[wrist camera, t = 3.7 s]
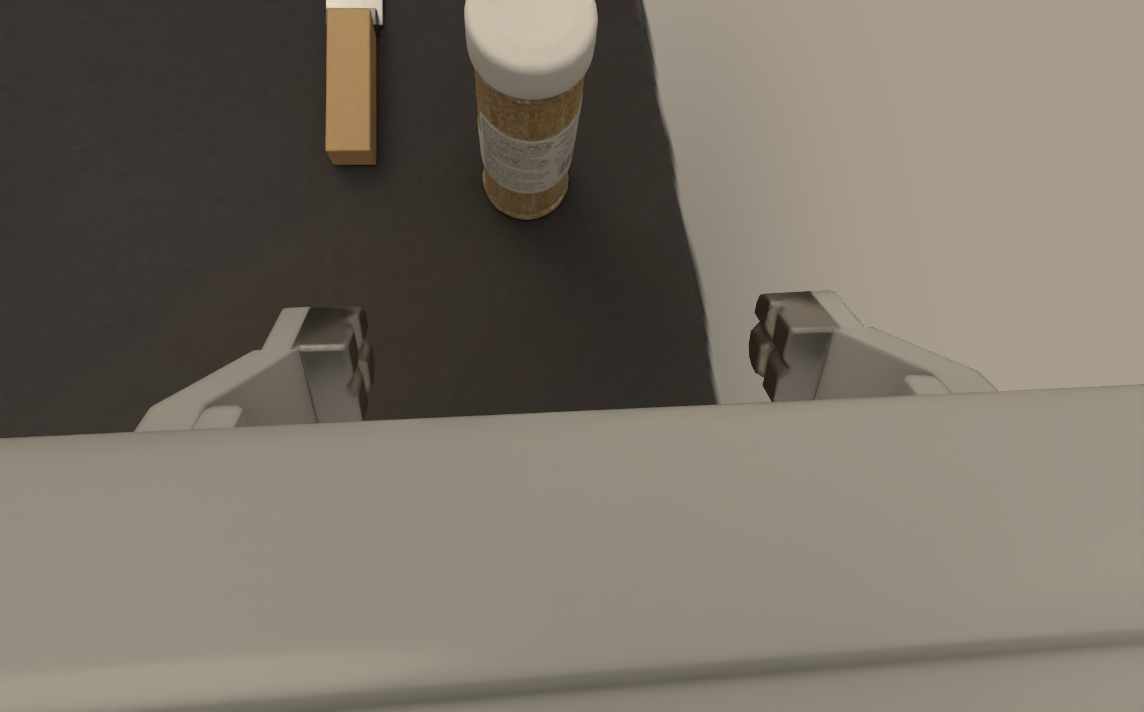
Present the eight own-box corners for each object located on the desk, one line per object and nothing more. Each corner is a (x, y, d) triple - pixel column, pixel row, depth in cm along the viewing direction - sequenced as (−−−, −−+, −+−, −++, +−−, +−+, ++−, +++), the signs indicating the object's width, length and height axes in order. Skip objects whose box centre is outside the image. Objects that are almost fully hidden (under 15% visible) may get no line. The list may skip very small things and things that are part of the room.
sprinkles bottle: (514, 127, 36) (514, -76, 23) (585, 174, 36) (625, -4, 23) (464, 192, 35) (435, 19, 22) (536, 240, 35) (550, 94, 22)
